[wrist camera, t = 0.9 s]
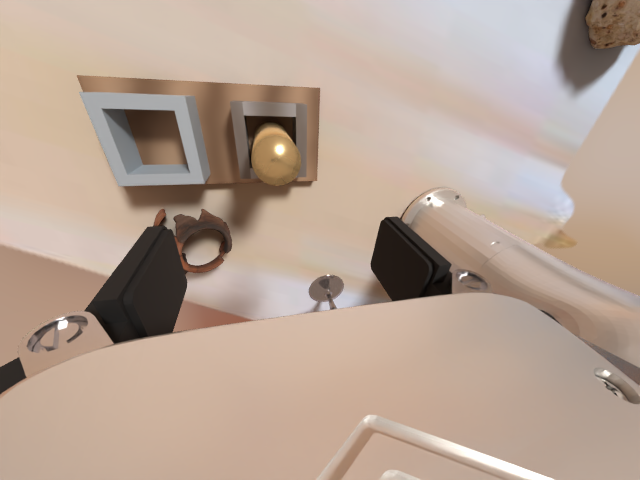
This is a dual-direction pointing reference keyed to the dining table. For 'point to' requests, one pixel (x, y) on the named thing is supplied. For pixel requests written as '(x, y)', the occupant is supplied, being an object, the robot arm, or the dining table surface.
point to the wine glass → (326, 289)
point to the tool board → (220, 123)
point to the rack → (122, 146)
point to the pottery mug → (191, 225)
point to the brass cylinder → (274, 154)
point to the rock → (614, 23)
